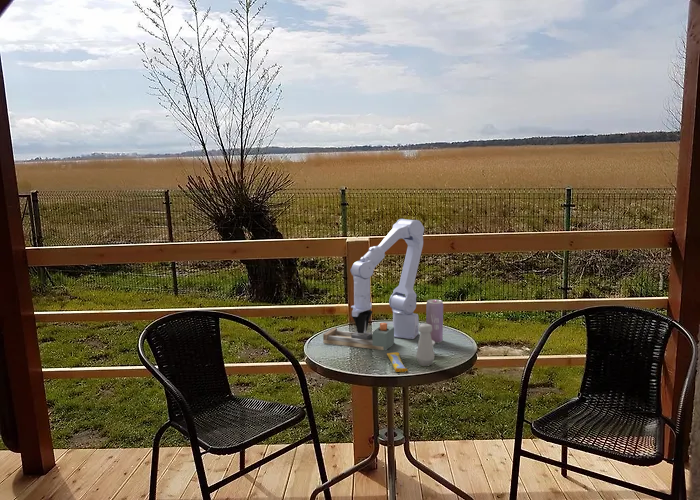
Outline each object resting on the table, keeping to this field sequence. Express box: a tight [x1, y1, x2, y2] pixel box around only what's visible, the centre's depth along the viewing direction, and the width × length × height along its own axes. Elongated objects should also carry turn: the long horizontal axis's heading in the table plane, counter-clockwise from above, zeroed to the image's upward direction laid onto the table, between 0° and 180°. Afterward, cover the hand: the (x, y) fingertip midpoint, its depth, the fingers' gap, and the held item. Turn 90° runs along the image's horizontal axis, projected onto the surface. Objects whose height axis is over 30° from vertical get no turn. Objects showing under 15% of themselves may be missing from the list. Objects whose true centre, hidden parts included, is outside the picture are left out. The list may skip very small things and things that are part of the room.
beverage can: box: [425, 298, 444, 344], centre depth 190 cm, size 6×6×15 cm
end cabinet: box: [372, 325, 395, 351], centre depth 185 cm, size 5×9×6 cm, turn 157°
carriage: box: [351, 322, 373, 340], centre depth 188 cm, size 6×5×7 cm
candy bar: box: [386, 352, 409, 373], centre depth 167 cm, size 17×4×2 cm, turn 5°
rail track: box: [322, 327, 384, 351], centre depth 189 cm, size 23×9×3 cm, turn 68°
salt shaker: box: [415, 323, 435, 367], centre depth 166 cm, size 6×6×13 cm
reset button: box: [379, 322, 388, 331], centre depth 185 cm, size 3×3×2 cm
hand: (362, 331), depth 188 cm, fingers closed on carriage, 2 cm apart
